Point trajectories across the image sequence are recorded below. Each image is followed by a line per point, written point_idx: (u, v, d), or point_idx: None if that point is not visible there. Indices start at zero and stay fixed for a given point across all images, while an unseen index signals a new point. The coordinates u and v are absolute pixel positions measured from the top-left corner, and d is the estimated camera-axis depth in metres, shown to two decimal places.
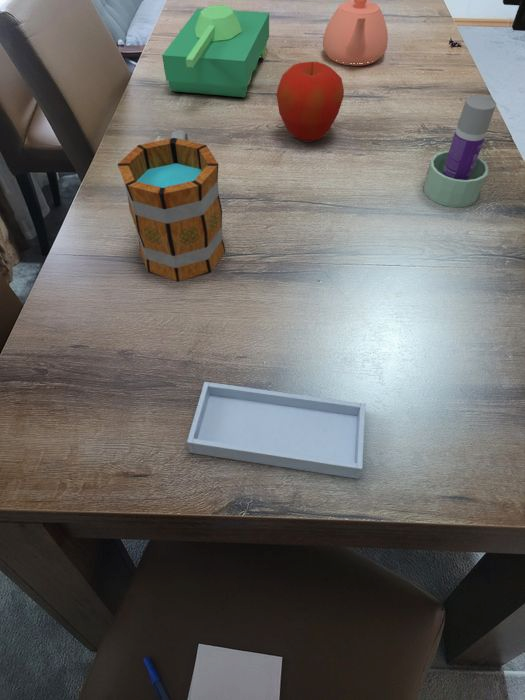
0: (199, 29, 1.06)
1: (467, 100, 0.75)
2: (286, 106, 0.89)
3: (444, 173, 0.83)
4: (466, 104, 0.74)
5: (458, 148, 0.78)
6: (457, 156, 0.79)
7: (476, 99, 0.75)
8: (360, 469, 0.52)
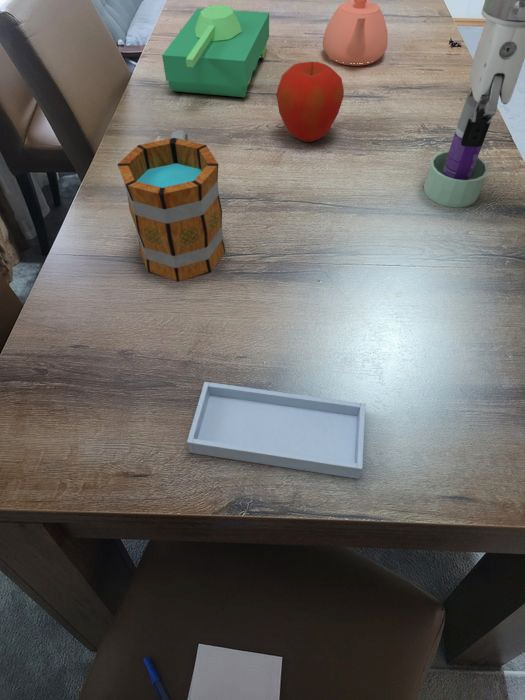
0: (199, 29, 1.06)
1: (467, 100, 0.75)
2: (286, 106, 0.89)
3: (444, 173, 0.83)
4: (466, 104, 0.74)
5: (458, 148, 0.78)
6: (457, 156, 0.79)
7: None
8: (360, 469, 0.52)
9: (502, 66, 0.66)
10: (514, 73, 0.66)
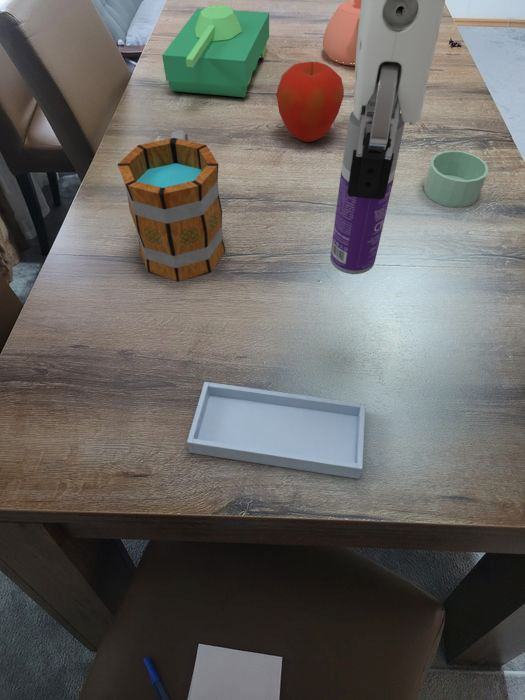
0: (199, 29, 1.06)
1: (353, 114, 0.40)
2: (286, 106, 0.89)
3: (334, 237, 0.49)
4: (350, 122, 0.40)
5: (347, 199, 0.44)
6: (348, 212, 0.45)
7: None
8: (360, 469, 0.52)
9: (393, 47, 0.31)
10: (419, 63, 0.32)
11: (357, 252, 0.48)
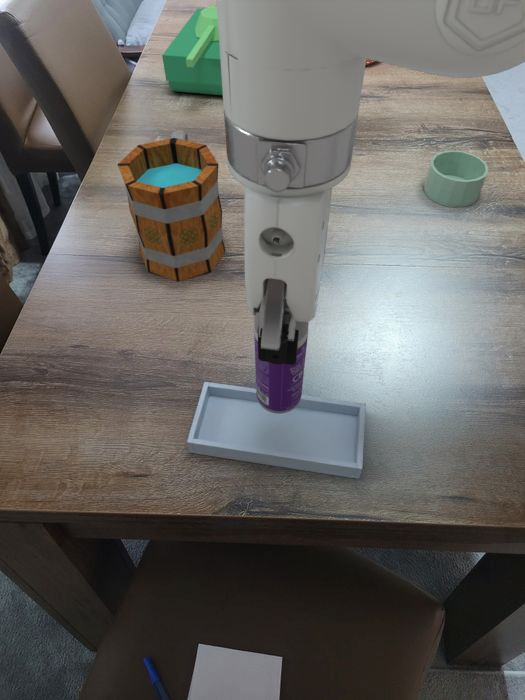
0: (199, 29, 1.06)
1: None
2: None
3: (256, 380, 0.48)
4: None
5: None
6: (263, 368, 0.44)
7: None
8: (360, 469, 0.52)
9: (274, 268, 0.30)
10: (303, 281, 0.31)
11: (278, 398, 0.47)
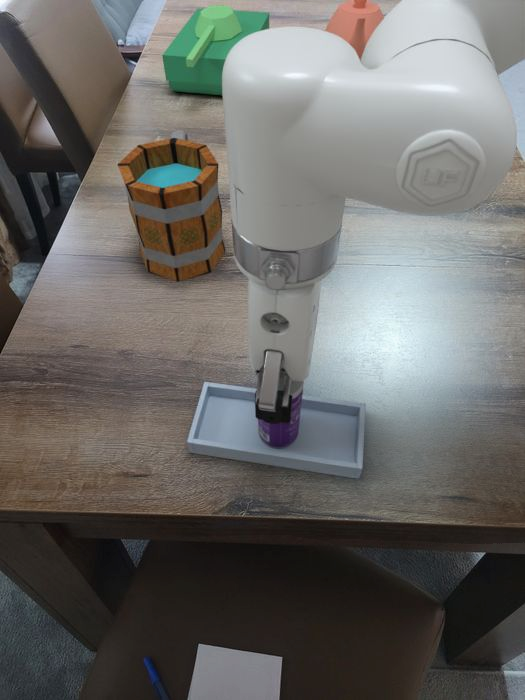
0: (199, 29, 1.06)
1: None
2: None
3: (258, 420, 0.54)
4: None
5: None
6: None
7: None
8: (360, 469, 0.52)
9: (273, 342, 0.36)
10: (297, 352, 0.37)
11: (278, 437, 0.53)
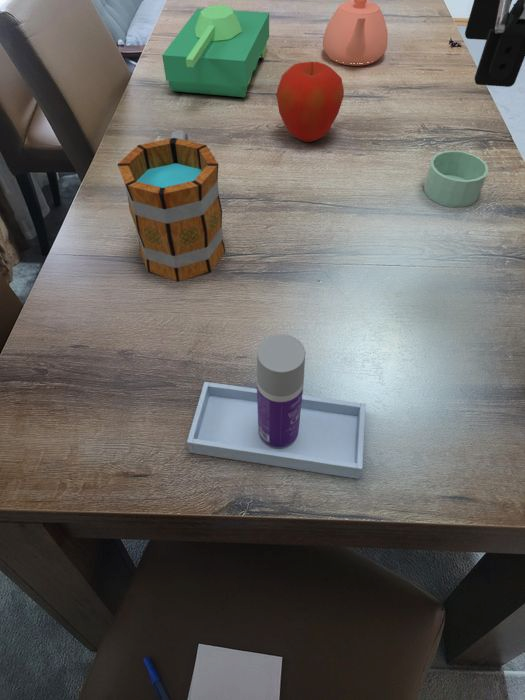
0: (199, 29, 1.06)
1: (260, 347, 0.45)
2: (286, 106, 0.89)
3: (258, 420, 0.54)
4: (257, 355, 0.45)
5: (262, 404, 0.49)
6: (265, 412, 0.50)
7: (276, 344, 0.46)
8: (360, 469, 0.52)
9: None
10: None
11: (278, 437, 0.53)
